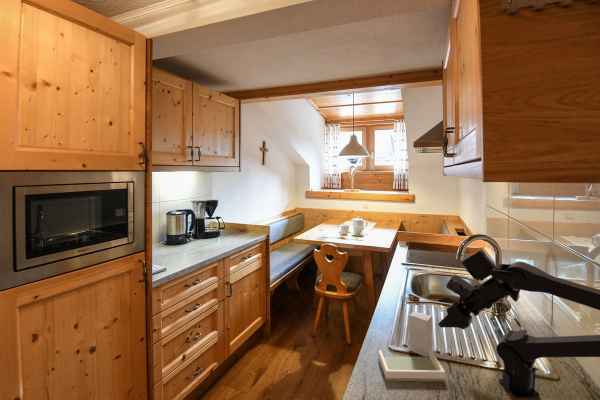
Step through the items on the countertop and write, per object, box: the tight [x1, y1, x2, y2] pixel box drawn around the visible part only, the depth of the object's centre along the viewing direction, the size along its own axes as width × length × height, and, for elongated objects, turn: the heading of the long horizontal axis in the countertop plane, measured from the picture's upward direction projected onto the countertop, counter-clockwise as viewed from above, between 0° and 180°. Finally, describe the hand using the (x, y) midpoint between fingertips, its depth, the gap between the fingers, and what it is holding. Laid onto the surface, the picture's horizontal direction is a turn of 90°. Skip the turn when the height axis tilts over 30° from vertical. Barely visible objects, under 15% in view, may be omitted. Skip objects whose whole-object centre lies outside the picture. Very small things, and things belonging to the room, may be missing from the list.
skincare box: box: [408, 311, 433, 357], centre depth 100 cm, size 6×4×12 cm
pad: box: [378, 350, 446, 382], centre depth 92 cm, size 16×10×3 cm, turn 88°
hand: (444, 319), depth 95 cm, fingers open, 9 cm apart
